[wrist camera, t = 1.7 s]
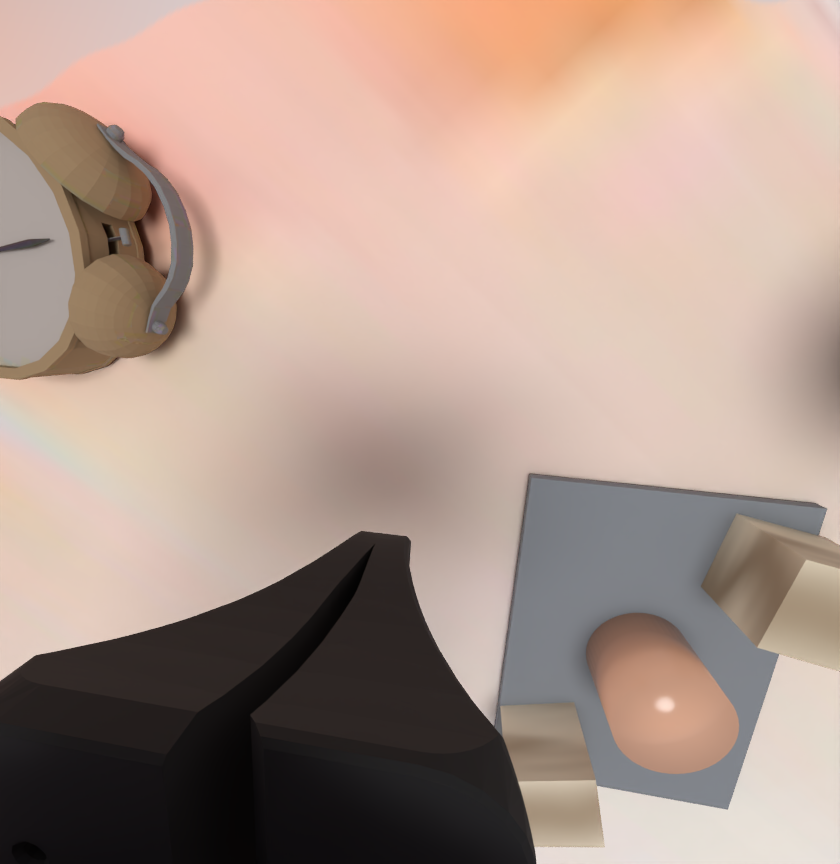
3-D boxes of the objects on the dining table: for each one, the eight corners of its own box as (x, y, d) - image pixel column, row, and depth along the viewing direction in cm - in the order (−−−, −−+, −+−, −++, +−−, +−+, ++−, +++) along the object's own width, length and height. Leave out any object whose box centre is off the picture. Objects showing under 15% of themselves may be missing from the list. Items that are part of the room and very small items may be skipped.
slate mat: (721, 797, 23) (727, 809, 22) (490, 756, 24) (490, 766, 24) (816, 503, 19) (827, 508, 18) (529, 473, 20) (531, 477, 19)
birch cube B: (784, 610, 19) (862, 678, 15) (700, 586, 20) (757, 647, 16) (825, 537, 18) (920, 591, 14) (736, 513, 19) (806, 559, 15)
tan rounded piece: (676, 702, 21) (722, 783, 17) (578, 686, 22) (601, 762, 18) (698, 620, 20) (753, 688, 16) (594, 606, 20) (622, 668, 17)
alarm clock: (-162, 135, 18) (66, 15, 13) (-17, 175, 22) (192, 97, 18) (-70, 388, 20) (150, 365, 15) (44, 377, 25) (242, 357, 20)
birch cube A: (582, 760, 23) (604, 847, 19) (510, 762, 23) (518, 846, 20) (574, 702, 22) (595, 780, 18) (500, 705, 23) (506, 781, 19)
